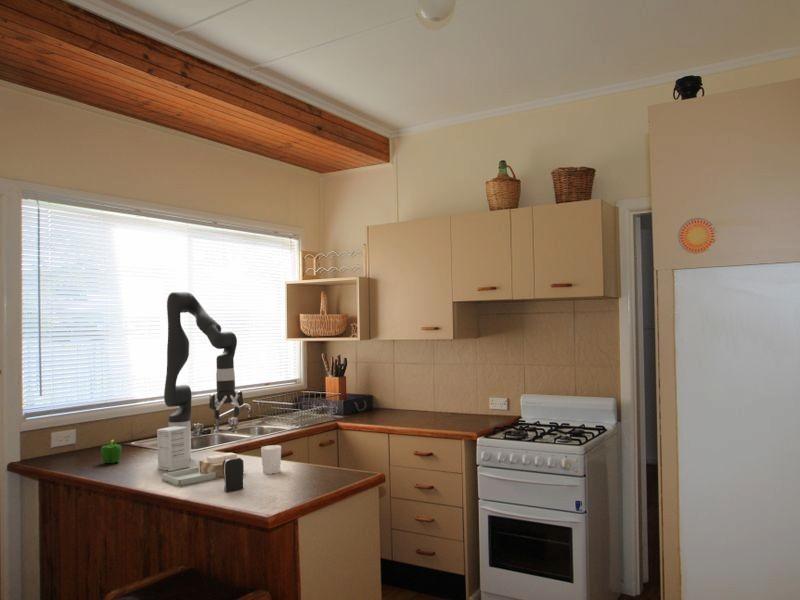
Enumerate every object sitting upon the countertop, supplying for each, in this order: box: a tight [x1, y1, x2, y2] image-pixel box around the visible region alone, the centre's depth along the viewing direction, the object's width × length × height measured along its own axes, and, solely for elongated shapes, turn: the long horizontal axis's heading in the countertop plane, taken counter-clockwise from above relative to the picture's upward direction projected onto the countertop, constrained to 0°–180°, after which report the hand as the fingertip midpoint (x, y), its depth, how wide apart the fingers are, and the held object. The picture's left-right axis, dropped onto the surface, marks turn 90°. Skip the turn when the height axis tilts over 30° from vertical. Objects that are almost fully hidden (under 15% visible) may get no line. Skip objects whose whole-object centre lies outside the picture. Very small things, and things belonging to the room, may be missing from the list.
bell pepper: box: [100, 439, 123, 464], centre depth 279 cm, size 8×8×10 cm
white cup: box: [260, 444, 282, 475], centre depth 251 cm, size 8×8×10 cm
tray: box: [161, 466, 217, 487], centre depth 243 cm, size 15×15×2 cm
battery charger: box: [222, 457, 244, 493], centre depth 225 cm, size 7×4×11 cm, turn 131°
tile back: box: [219, 452, 238, 460], centre depth 254 cm, size 5×5×2 cm
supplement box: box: [156, 426, 190, 472], centre depth 264 cm, size 10×9×17 cm
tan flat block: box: [199, 458, 245, 479], centre depth 252 cm, size 14×12×5 cm
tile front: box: [206, 454, 224, 464], centre depth 250 cm, size 5×5×2 cm
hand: (226, 417), depth 264 cm, fingers open, 8 cm apart
